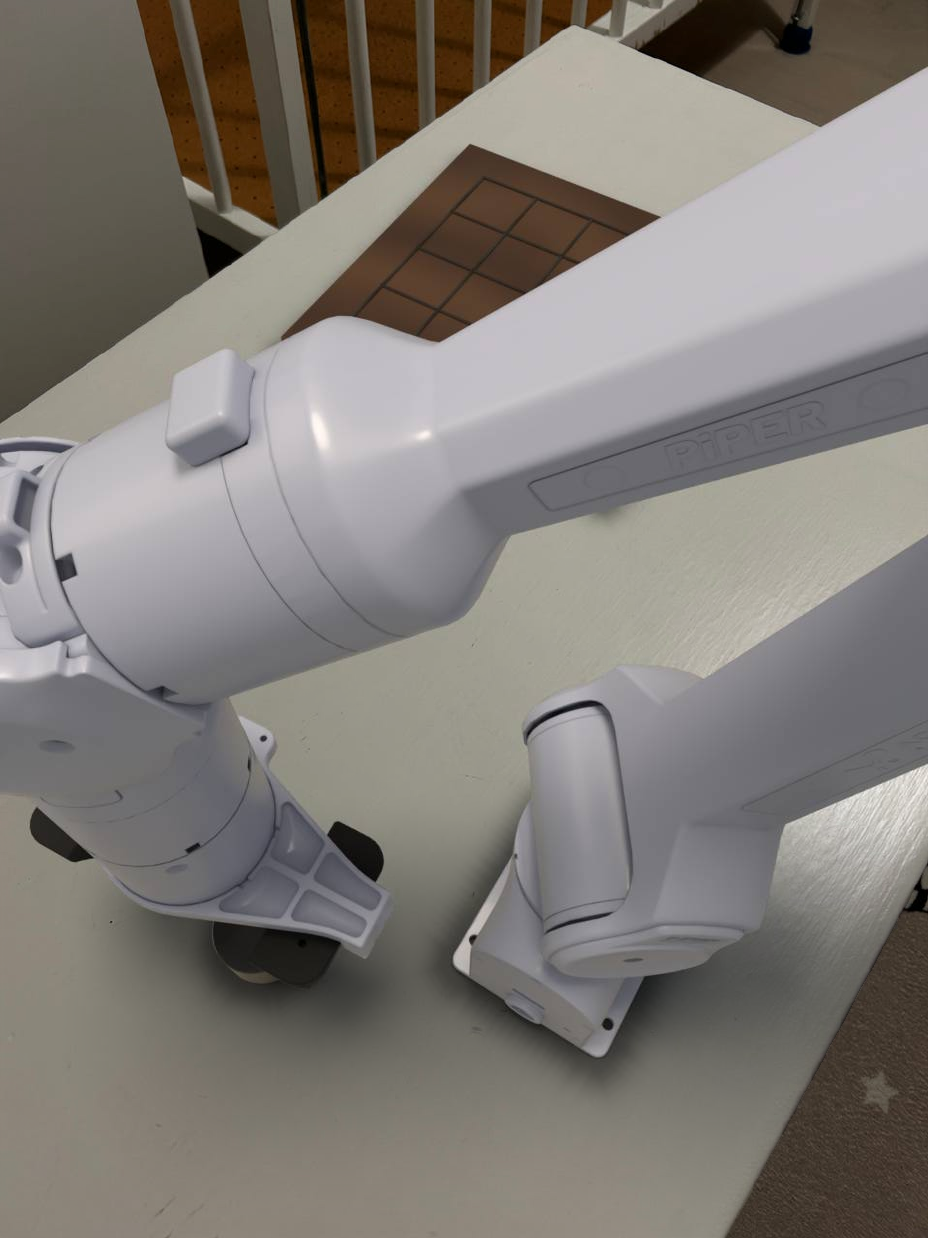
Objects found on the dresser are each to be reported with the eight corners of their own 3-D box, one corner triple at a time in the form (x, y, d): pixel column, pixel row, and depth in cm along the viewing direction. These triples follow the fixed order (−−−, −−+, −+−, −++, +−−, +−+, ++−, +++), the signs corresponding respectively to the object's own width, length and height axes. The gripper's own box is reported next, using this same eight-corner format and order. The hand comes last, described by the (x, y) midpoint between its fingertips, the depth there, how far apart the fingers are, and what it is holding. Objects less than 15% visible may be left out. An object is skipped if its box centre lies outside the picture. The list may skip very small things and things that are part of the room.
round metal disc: (274, 1001, 45) (264, 992, 42) (206, 954, 46) (192, 942, 43) (325, 925, 46) (318, 912, 44) (258, 881, 47) (247, 866, 45)
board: (603, 505, 59) (607, 489, 57) (283, 353, 65) (279, 335, 63) (758, 273, 69) (764, 254, 68) (469, 160, 75) (469, 141, 74)
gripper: (433, 764, 29) (439, 883, 41) (47, 575, 32) (156, 736, 44) (309, 986, 26) (354, 1045, 38) (-105, 752, 29) (55, 874, 41)
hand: (241, 889), depth 41 cm, fingers open, 7 cm apart
